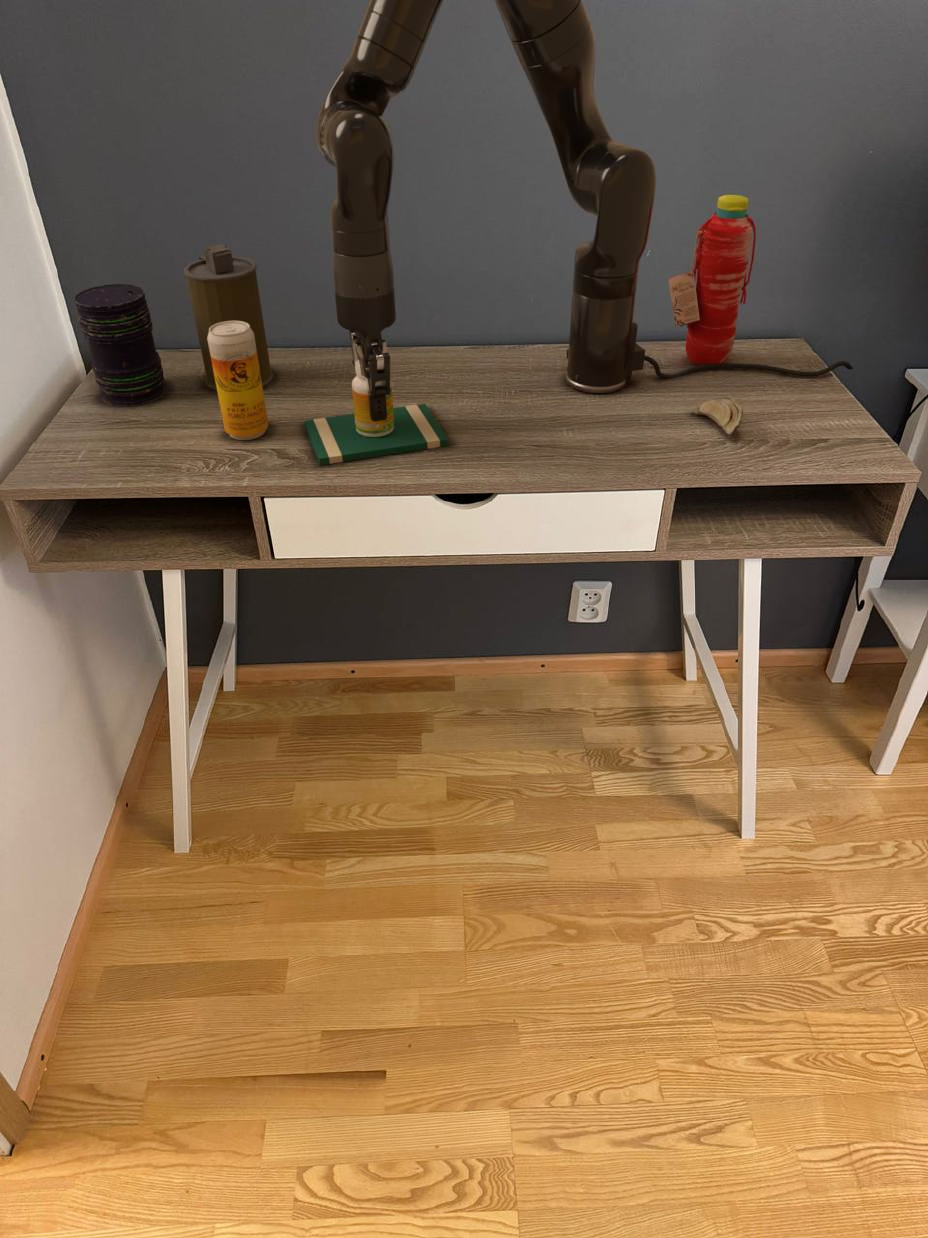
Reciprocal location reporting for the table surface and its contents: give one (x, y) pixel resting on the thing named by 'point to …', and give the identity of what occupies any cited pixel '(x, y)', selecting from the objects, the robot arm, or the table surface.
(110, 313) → the dark cylinder
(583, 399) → the table surface
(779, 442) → the table surface
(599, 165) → the robot arm
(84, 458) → the table surface
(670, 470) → the table surface
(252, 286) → the canister
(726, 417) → the dumpling
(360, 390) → the supplement bottle
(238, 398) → the beer can
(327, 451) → the towel
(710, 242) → the water bottle
